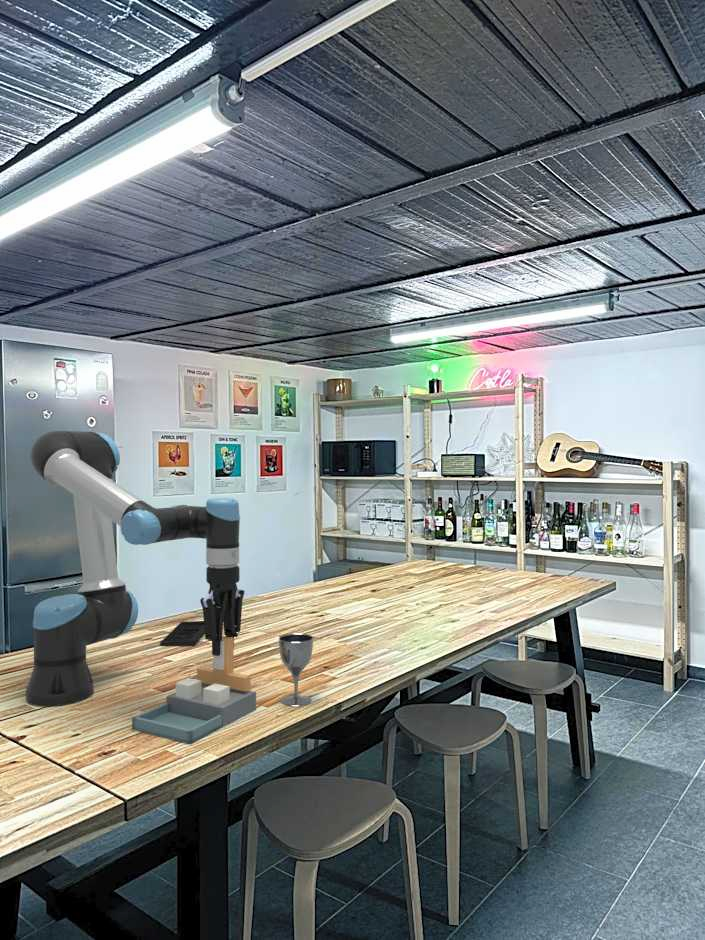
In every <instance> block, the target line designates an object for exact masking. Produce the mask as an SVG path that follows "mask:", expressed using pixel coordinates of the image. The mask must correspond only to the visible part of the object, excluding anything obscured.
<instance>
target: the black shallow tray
mask: <svg viewBox="0 0 705 940" xmlns="http://www.w3.org/2000/svg"><path fill="white" fill-rule="evenodd" d="M241 634H242V635H243V631H242V632H241ZM150 635H153V633H152V634H151V633H150ZM165 635H166V636H165V637H164V638H163V639H162V640H160V642H159V644H160V646H159V647H196V645H198V643H200V641H201V640H203V639H204V640H205V630H204V620H192V621H181V622H179V623H178V624H177V625H176V626H175V627H174V628H173V629H172V630H171V631H170V632H169V633H167V632H166V633H165ZM222 636H225V634H222Z"/></svg>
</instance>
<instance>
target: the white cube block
mask: <svg viewBox="0 0 705 940" xmlns="http://www.w3.org/2000/svg"><path fill="white" fill-rule="evenodd" d="M175 692H176V697H181V698H185V699H191V698H193V697H196V696H198V695H200V694H201V681H200V680H197V679H196V678H195V679H194V678H189V677H187V678H185V679H183V680H180V681H177V682H175Z"/></svg>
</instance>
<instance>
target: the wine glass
mask: <svg viewBox="0 0 705 940" xmlns="http://www.w3.org/2000/svg"><path fill="white" fill-rule="evenodd" d="M278 639H279V640H278V648H279V656H280V659H281V662H282V664H283V665H284V666H285V668H286V669H287V670H288V671H289V672H290V674H291V675H292V680H293V687H294V694H293V695H289V696H286V697H283V698H282V699H281V700H280V703H281V704H282V705H284V706H287V707H302V706H303V707H304V706H306V705H309V704H310V703H311V702H312V699H311V697H308V696H306V695H305V696H304V695H299V693H298V692H299V691H298V690H299V689H298V688H299V680H300V676H301V674H302V672H303V671H304V670H305V668H306V667H307V666H308V665H309V663H310V662H311V658H312V655H313V649H314V641H313V640H314V638H313V636H312V635H311V634H307V633H301V632H300V633H287V634H283V635H280V636H279V637H278Z"/></svg>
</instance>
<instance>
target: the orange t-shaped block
mask: <svg viewBox="0 0 705 940" xmlns="http://www.w3.org/2000/svg"><path fill="white" fill-rule="evenodd" d="M222 641H224V670H219V669H214V668H213V667H212V668H211V667H206V666H201V667H199V668H197V669H196V680H200V681H201V683H206V684H211V685H213V684H221V685H226V686H230V688H231V689H236V690H241V691H247V690H249V691H250V690H251V675H249V674H243V673H237V672H235V671H234V660H235V659H234V649H235V639H234V640H233V638H232V637H226V636H224V635H223V636H222Z"/></svg>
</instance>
